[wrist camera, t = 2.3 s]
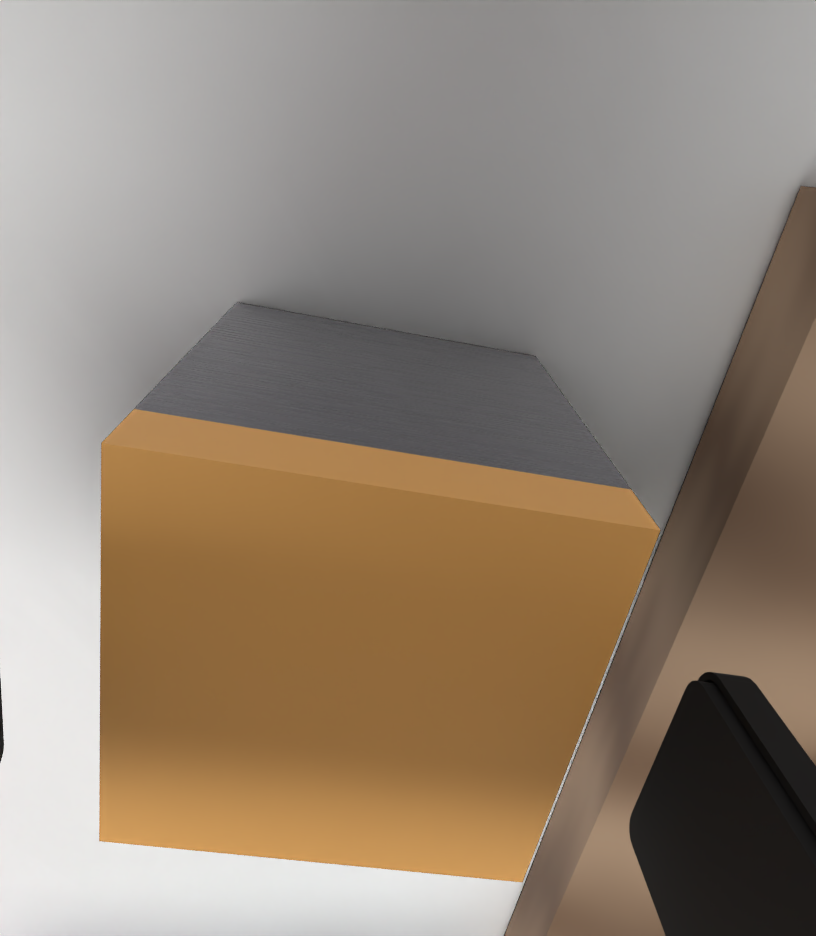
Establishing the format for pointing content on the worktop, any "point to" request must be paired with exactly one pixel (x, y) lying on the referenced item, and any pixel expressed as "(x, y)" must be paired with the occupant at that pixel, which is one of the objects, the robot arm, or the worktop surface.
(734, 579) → the wooden base plate fixture
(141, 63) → the worktop surface
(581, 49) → the worktop surface
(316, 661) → the orange-topped grey block
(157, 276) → the worktop surface
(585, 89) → the worktop surface
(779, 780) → the robot arm
